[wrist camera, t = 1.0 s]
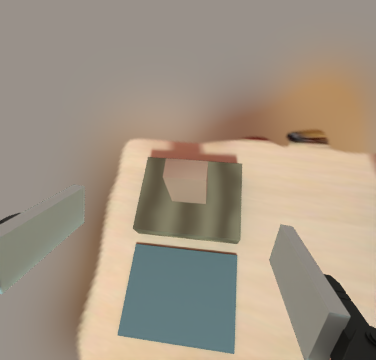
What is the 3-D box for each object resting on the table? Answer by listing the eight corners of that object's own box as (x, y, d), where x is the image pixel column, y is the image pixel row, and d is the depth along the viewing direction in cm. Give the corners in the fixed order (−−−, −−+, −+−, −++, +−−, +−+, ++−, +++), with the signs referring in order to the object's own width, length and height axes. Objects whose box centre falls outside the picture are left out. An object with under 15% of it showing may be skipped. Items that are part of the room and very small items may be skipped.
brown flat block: (239, 173, 46) (242, 163, 43) (237, 243, 41) (240, 239, 37) (152, 166, 48) (148, 157, 45) (138, 233, 43) (132, 228, 39)
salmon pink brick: (207, 188, 41) (208, 161, 32) (206, 204, 40) (206, 180, 31) (174, 185, 42) (165, 158, 33) (172, 201, 41) (162, 177, 32)
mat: (236, 255, 40) (237, 255, 40) (233, 353, 34) (234, 353, 34) (136, 244, 42) (136, 243, 42) (118, 334, 36) (117, 335, 36)
